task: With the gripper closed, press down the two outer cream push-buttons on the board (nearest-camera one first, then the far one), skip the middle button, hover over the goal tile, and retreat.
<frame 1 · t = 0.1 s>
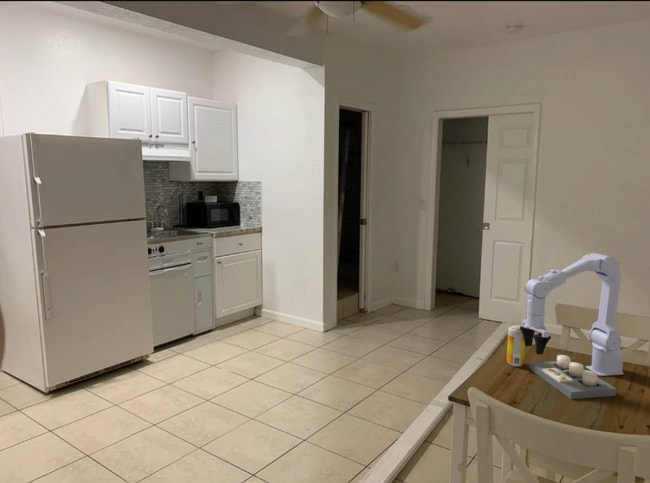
hand: (533, 349, 166), 10 cm above the table, fingers open, 7 cm apart
goal tile: (557, 375, 162), resting on board
button c: (589, 378, 156), point 4 cm above the table, slide at 0.0 cm
board: (570, 381, 163), on the table
button a: (563, 362, 170), point 4 cm above the table, slide at 0.0 cm
button b: (576, 369, 163), point 4 cm above the table, slide at 0.0 cm
beer can: (515, 364, 178), on the table
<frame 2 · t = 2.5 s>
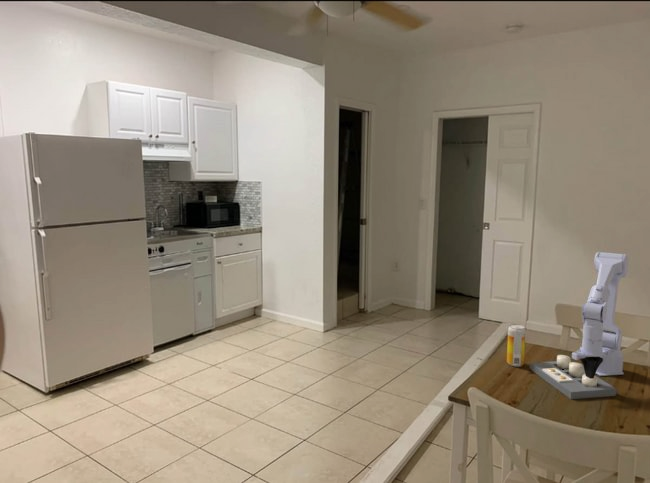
hand: (589, 377, 156), 5 cm above the table, fingers closed, pressing on button c
button c: (589, 382, 156), point 3 cm above the table, slide at 1.4 cm, touching gripper
everything else where it was.
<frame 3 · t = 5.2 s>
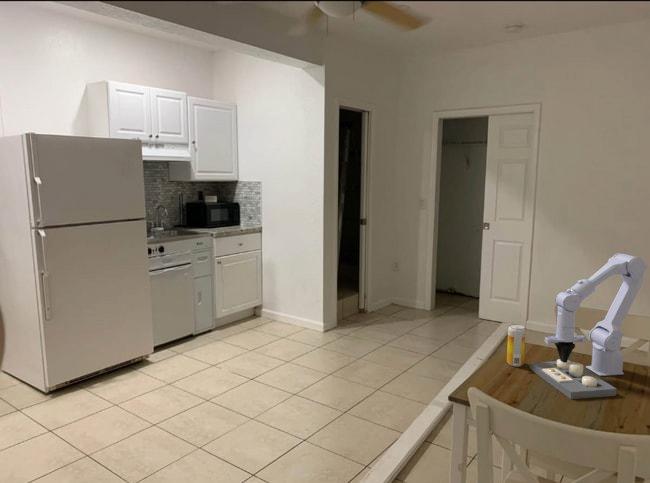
hand: (563, 361, 169), 4 cm above the table, fingers closed, pressing on button a
button c: (589, 384, 156), point 2 cm above the table, slide at 2.0 cm
button a: (563, 366, 170), point 3 cm above the table, slide at 1.6 cm, touching gripper
everything else where it was.
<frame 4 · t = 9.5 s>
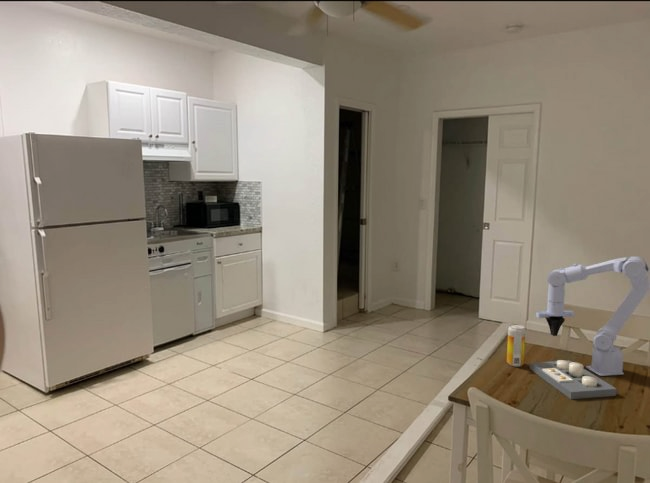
hand: (553, 335, 180), 10 cm above the table, fingers closed
button a: (563, 367, 170), point 2 cm above the table, slide at 2.0 cm
everything else where it was.
at the end: button c slide at 2.0 cm; button a slide at 2.0 cm; button b slide at 0.0 cm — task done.
